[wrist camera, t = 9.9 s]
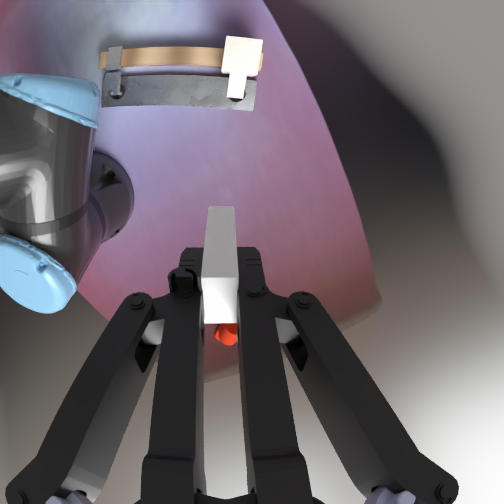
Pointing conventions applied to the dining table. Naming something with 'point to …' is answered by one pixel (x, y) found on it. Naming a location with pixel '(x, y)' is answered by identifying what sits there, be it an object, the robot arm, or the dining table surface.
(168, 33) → the dining table surface
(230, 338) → the bracket
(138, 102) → the hole plate
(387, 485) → the robot arm
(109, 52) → the fixed leg
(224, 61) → the block
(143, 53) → the beam
